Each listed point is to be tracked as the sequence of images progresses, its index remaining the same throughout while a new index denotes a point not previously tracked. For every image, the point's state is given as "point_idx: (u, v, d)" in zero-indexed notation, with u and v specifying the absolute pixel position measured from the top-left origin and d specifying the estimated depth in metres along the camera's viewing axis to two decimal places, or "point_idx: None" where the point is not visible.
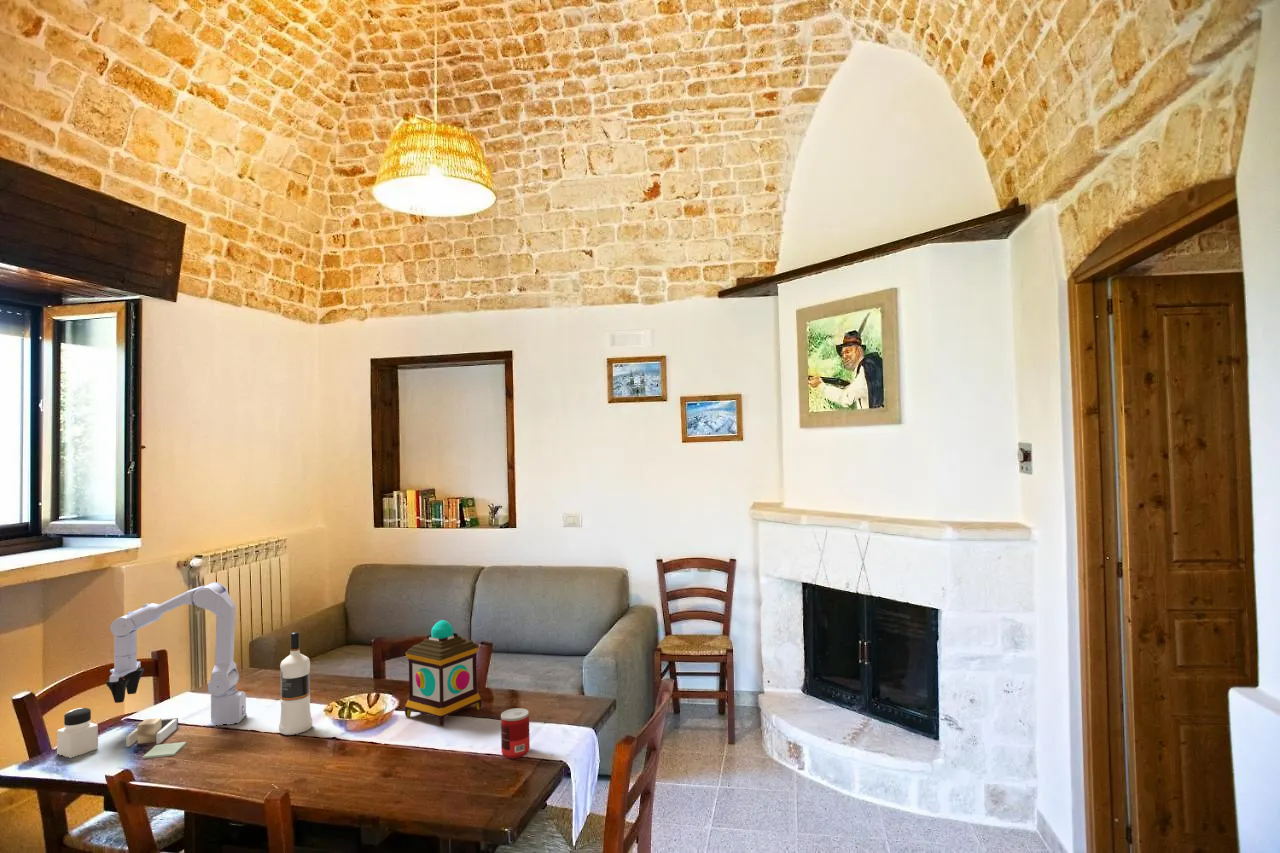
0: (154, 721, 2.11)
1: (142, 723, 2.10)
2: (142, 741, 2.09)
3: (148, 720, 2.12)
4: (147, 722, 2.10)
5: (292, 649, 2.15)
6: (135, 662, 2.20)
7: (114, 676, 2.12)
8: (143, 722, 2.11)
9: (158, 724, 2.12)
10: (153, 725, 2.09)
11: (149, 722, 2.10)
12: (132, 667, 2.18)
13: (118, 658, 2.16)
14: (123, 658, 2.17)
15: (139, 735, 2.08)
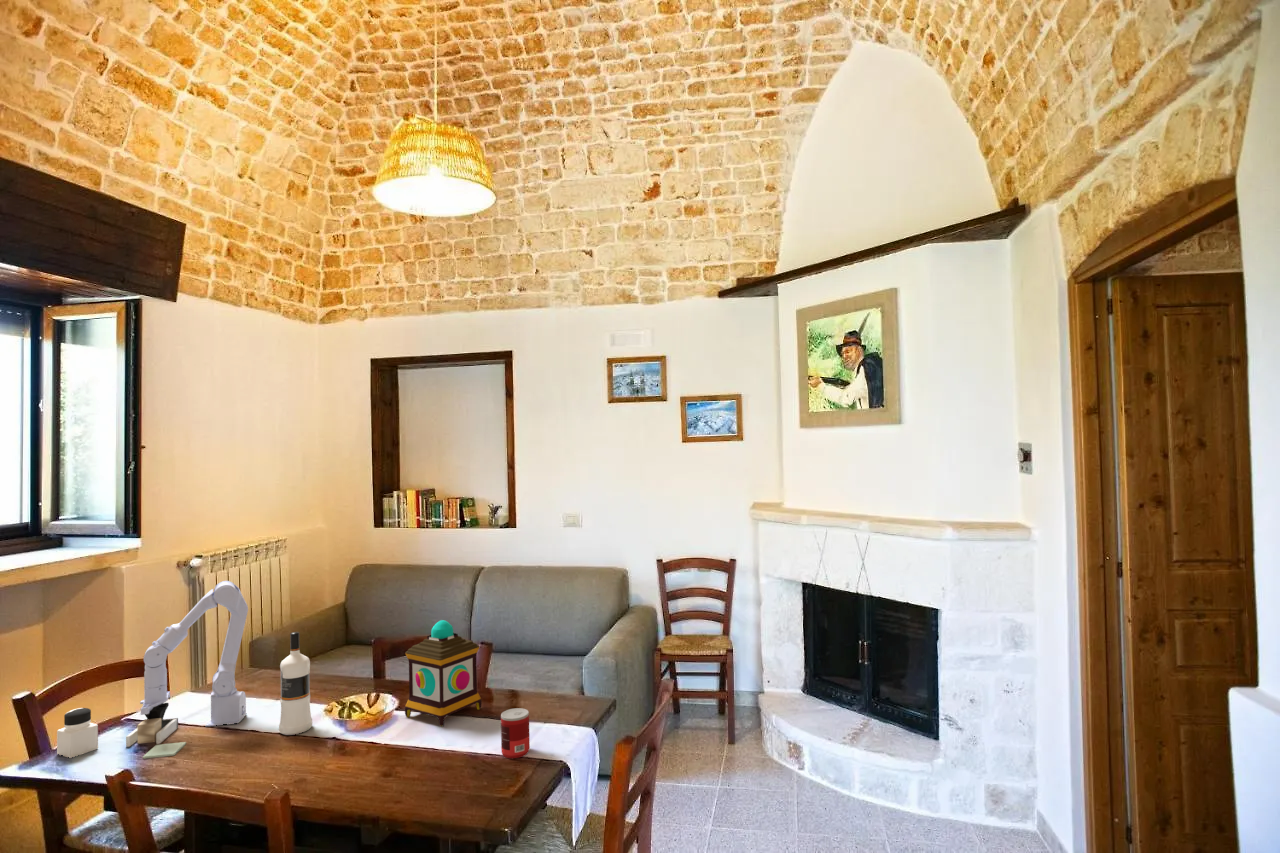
0: (154, 721, 2.11)
1: (142, 723, 2.10)
2: (142, 741, 2.09)
3: (148, 720, 2.12)
4: (147, 722, 2.10)
5: (292, 649, 2.15)
6: (165, 693, 2.16)
7: (145, 708, 2.08)
8: (143, 722, 2.10)
9: (158, 724, 2.12)
10: (153, 725, 2.09)
11: (149, 722, 2.10)
12: (162, 698, 2.14)
13: (148, 689, 2.12)
14: (153, 689, 2.13)
15: (139, 735, 2.08)
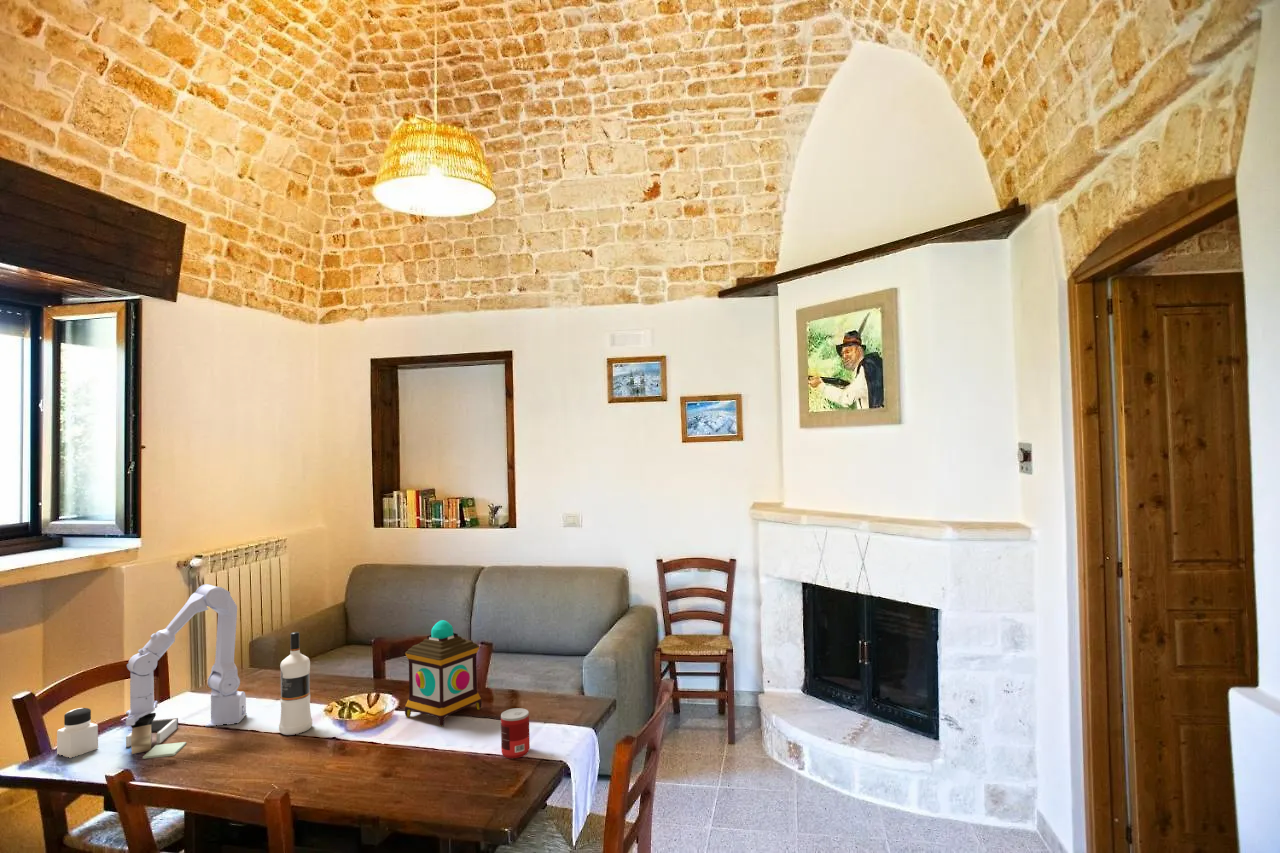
0: (147, 731, 2.03)
1: (134, 734, 2.01)
2: (137, 751, 2.02)
3: (138, 729, 2.03)
4: (139, 733, 2.02)
5: (292, 649, 2.15)
6: (152, 703, 2.07)
7: (131, 719, 2.00)
8: (134, 732, 2.02)
9: None
10: (149, 735, 2.02)
11: (142, 733, 2.02)
12: (149, 708, 2.06)
13: (134, 699, 2.04)
14: (140, 699, 2.04)
15: (133, 746, 2.01)
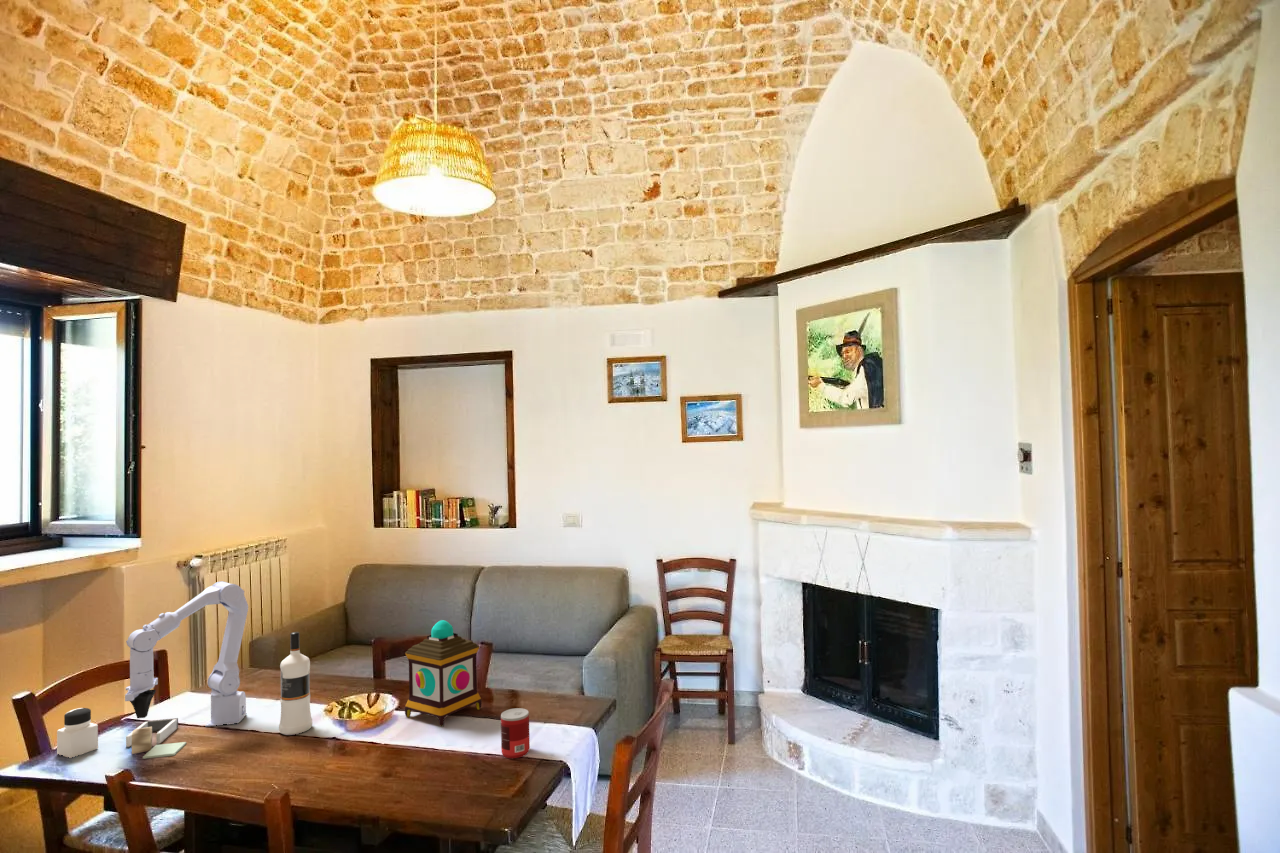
0: (148, 730, 2.05)
1: (135, 733, 2.03)
2: (137, 751, 2.02)
3: (139, 729, 2.05)
4: (140, 731, 2.03)
5: (292, 649, 2.15)
6: (152, 679, 2.07)
7: (130, 695, 2.00)
8: (135, 732, 2.03)
9: (151, 732, 2.06)
10: (149, 733, 2.03)
11: (143, 731, 2.04)
12: (149, 685, 2.06)
13: (134, 675, 2.04)
14: (139, 675, 2.05)
15: (133, 745, 2.01)
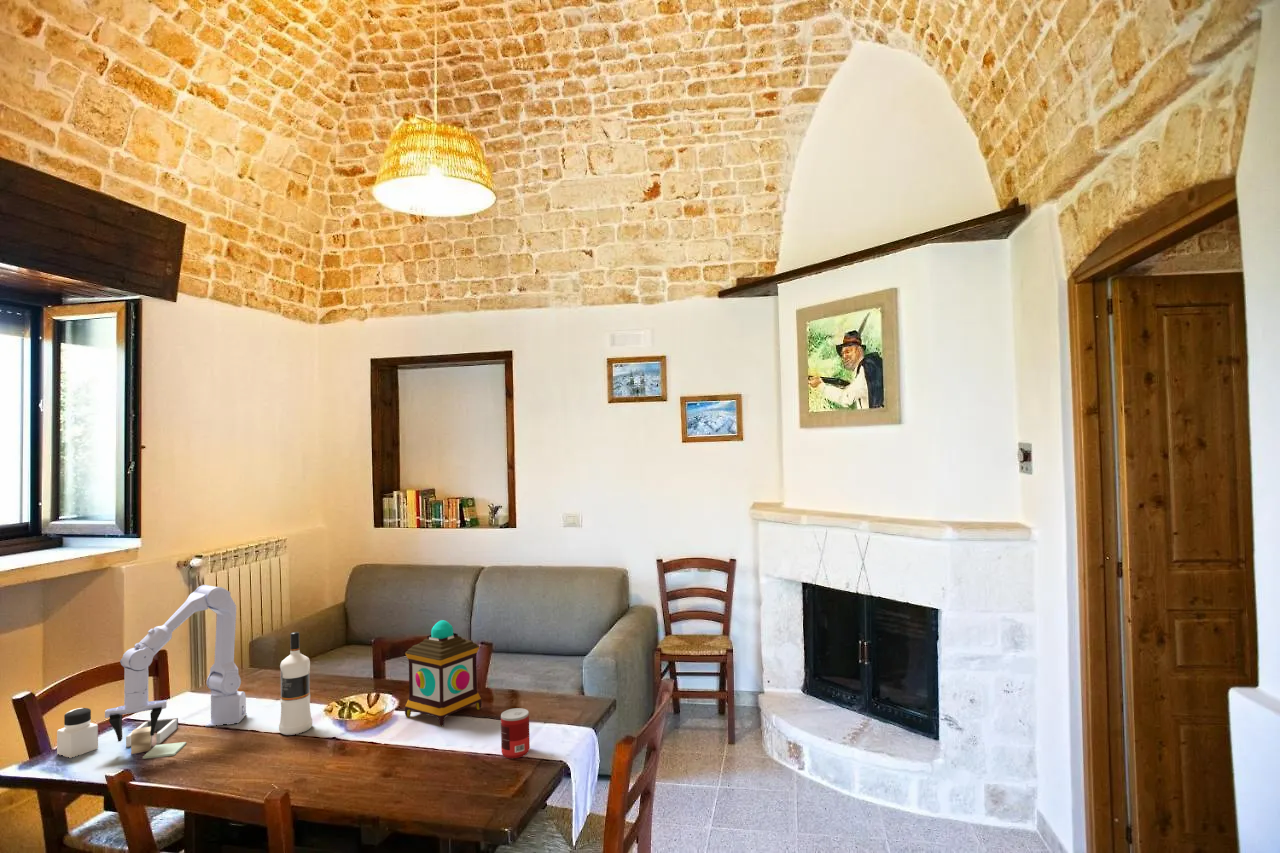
0: (147, 730, 2.04)
1: (135, 732, 2.03)
2: (136, 751, 2.02)
3: (138, 729, 2.05)
4: (139, 731, 2.03)
5: (292, 649, 2.15)
6: (134, 702, 2.01)
7: None
8: (135, 732, 2.03)
9: None
10: (149, 733, 2.03)
11: (142, 731, 2.03)
12: (129, 707, 2.01)
13: None
14: (124, 694, 2.02)
15: (133, 745, 2.01)
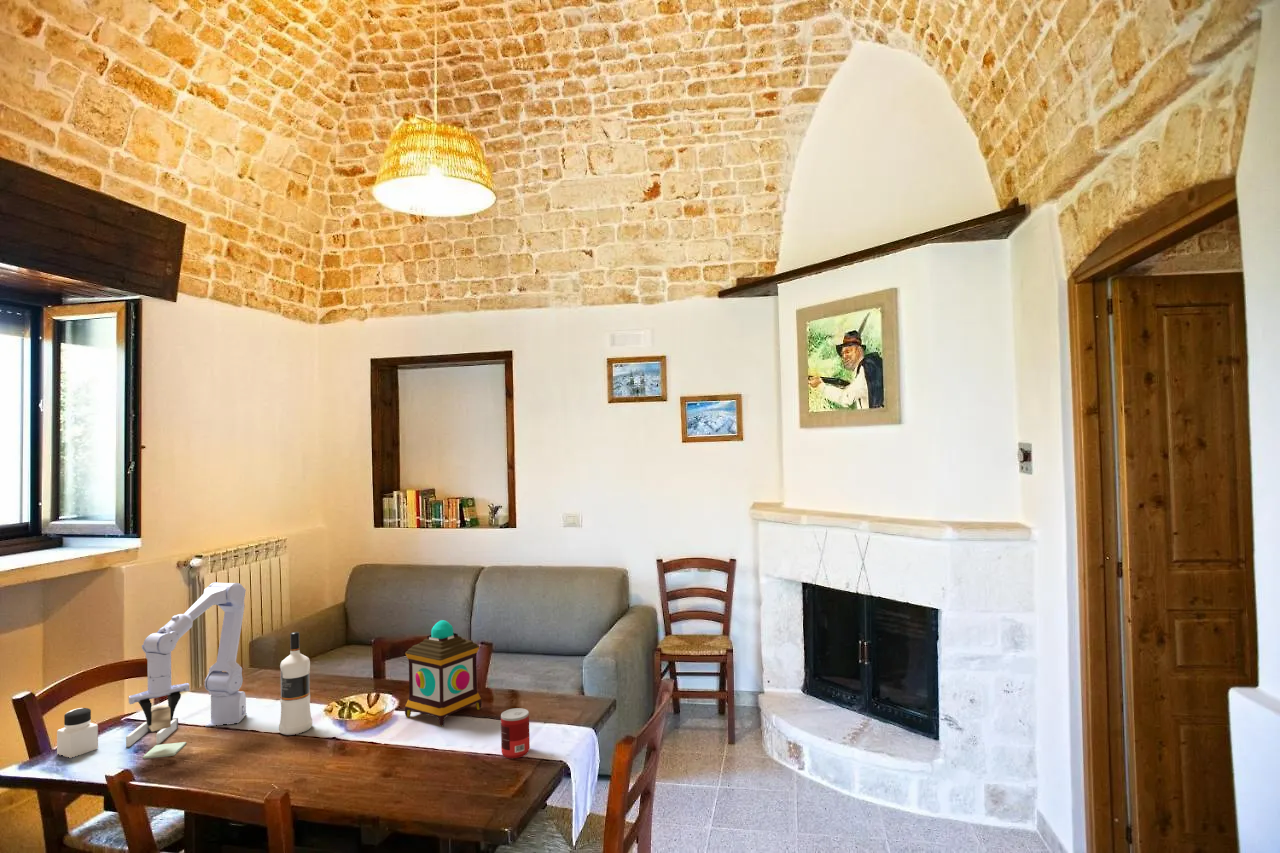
0: (166, 707, 2.04)
1: (154, 710, 2.01)
2: (157, 728, 2.01)
3: (155, 707, 2.03)
4: (158, 709, 2.02)
5: (292, 649, 2.15)
6: (161, 686, 2.01)
7: (129, 698, 1.98)
8: (153, 709, 2.02)
9: None
10: (169, 709, 2.03)
11: (161, 708, 2.03)
12: (156, 691, 2.00)
13: None
14: (148, 679, 2.01)
15: (154, 722, 2.00)
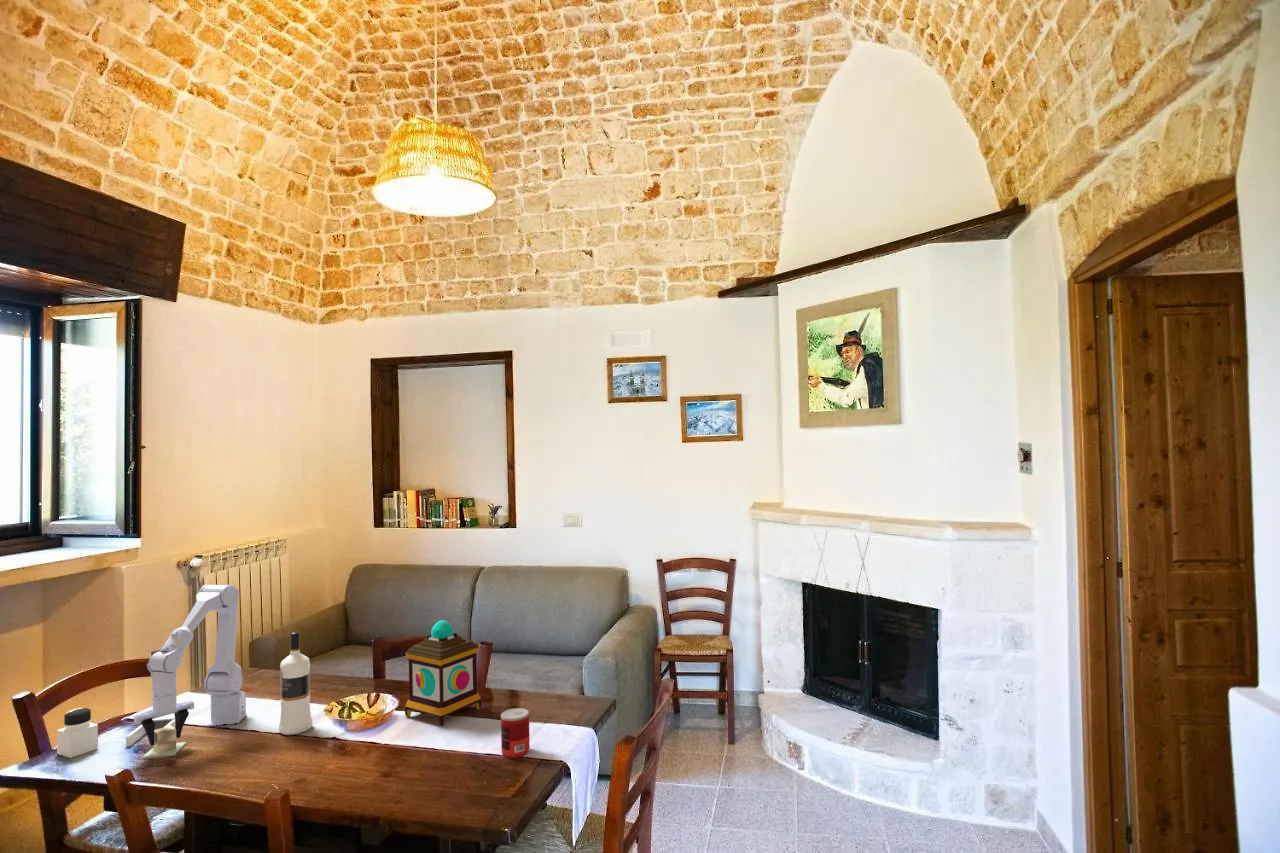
0: (171, 728, 2.03)
1: (160, 732, 2.01)
2: (163, 750, 2.00)
3: (160, 729, 2.03)
4: (164, 730, 2.02)
5: (292, 649, 2.15)
6: (167, 705, 2.01)
7: (135, 717, 1.97)
8: (158, 731, 2.01)
9: None
10: (175, 731, 2.03)
11: (167, 730, 2.02)
12: (162, 710, 2.00)
13: None
14: (154, 698, 2.00)
15: (160, 744, 2.00)
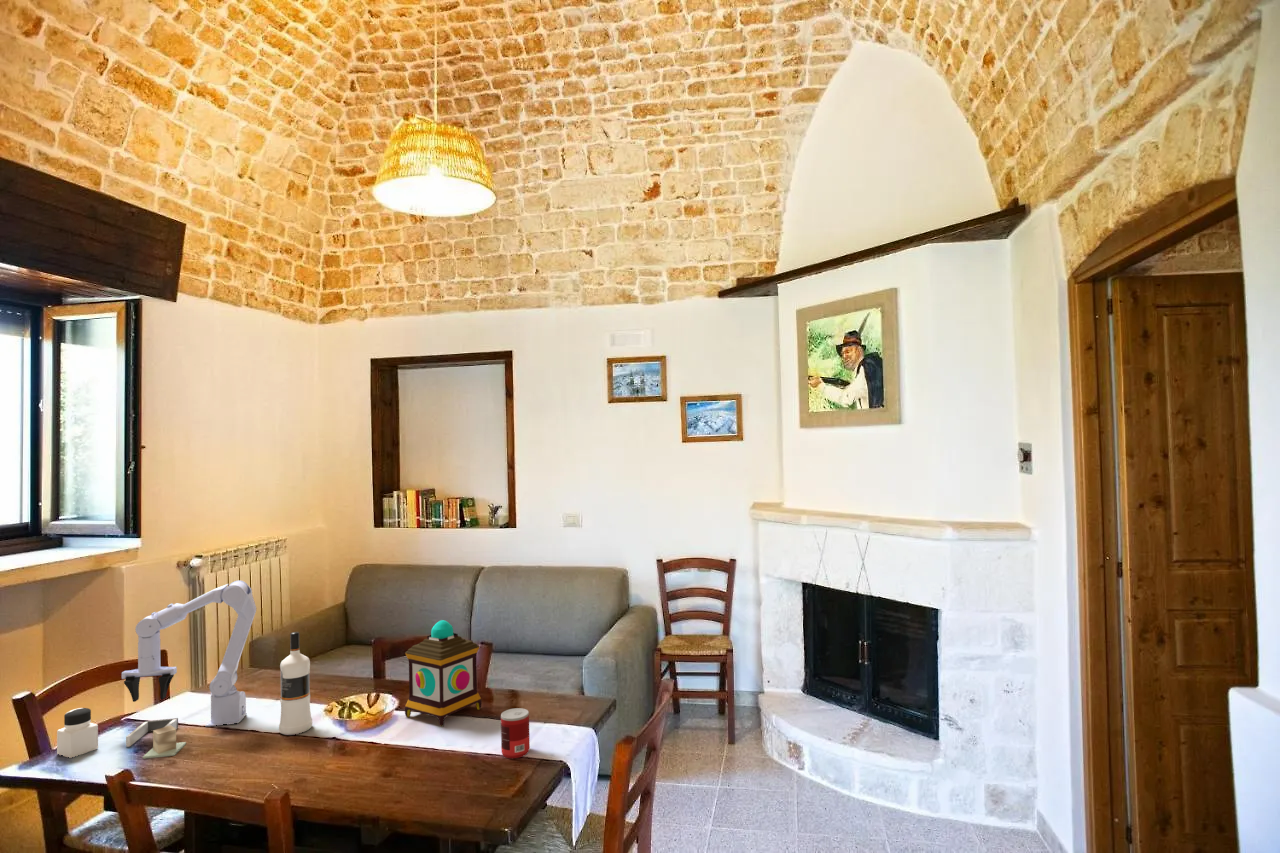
0: (171, 728, 2.03)
1: (160, 732, 2.01)
2: (163, 750, 2.00)
3: (160, 729, 2.03)
4: (164, 730, 2.02)
5: (292, 649, 2.15)
6: (144, 667, 2.15)
7: None
8: (158, 731, 2.01)
9: None
10: (175, 731, 2.03)
11: (167, 730, 2.02)
12: (140, 671, 2.15)
13: None
14: None
15: (160, 744, 2.00)
